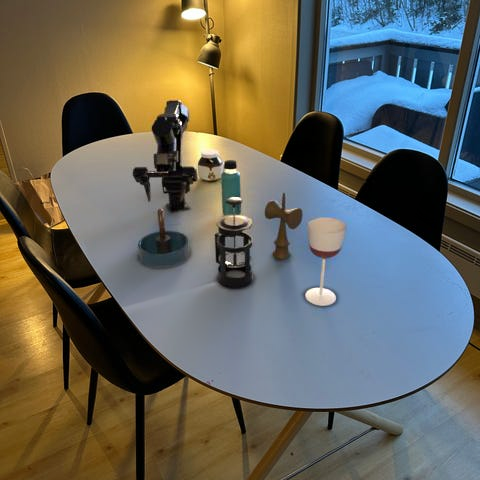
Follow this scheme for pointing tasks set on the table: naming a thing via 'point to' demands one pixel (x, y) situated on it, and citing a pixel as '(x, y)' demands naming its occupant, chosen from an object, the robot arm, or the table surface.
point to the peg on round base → (162, 236)
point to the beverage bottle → (230, 187)
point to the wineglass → (324, 252)
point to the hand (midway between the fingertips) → (164, 201)
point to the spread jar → (210, 166)
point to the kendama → (283, 225)
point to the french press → (233, 256)
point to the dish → (178, 253)
